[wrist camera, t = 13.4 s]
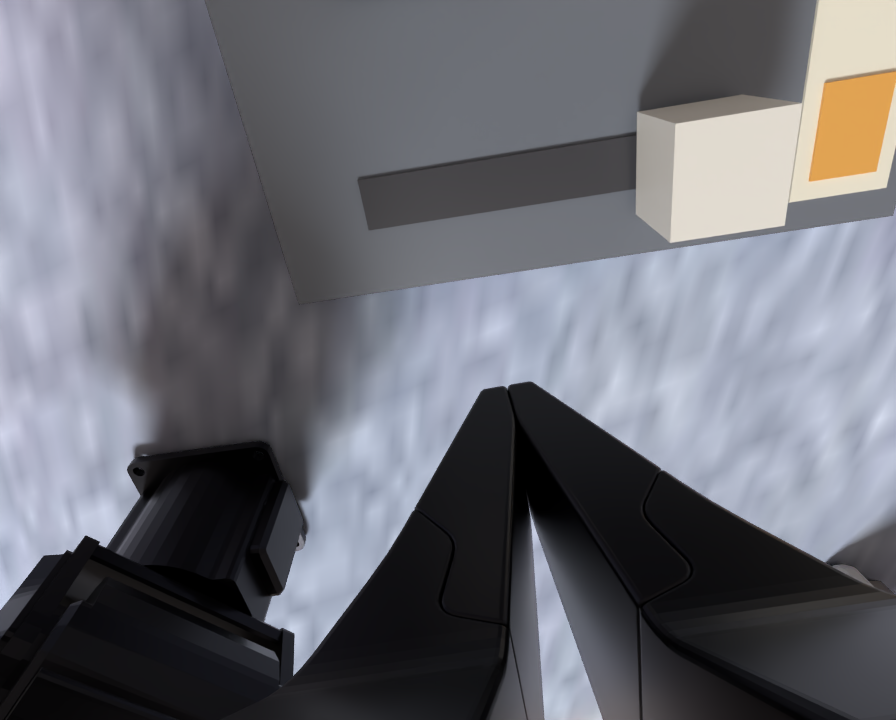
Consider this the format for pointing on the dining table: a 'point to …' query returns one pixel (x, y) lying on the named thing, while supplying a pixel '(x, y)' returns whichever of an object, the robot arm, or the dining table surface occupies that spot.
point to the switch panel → (531, 123)
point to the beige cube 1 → (715, 166)
